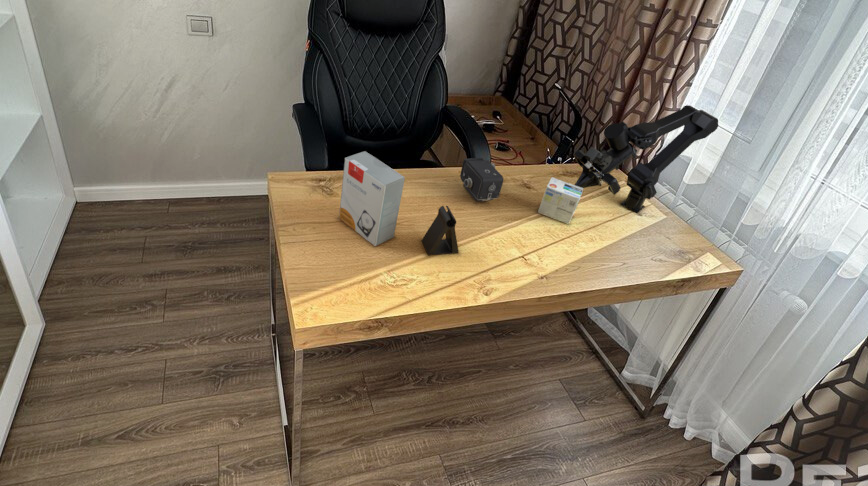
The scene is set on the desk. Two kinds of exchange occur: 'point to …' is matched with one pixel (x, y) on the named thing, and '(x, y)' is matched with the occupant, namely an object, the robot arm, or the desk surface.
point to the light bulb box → (560, 200)
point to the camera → (481, 179)
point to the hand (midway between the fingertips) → (574, 188)
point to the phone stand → (441, 234)
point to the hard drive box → (370, 197)
